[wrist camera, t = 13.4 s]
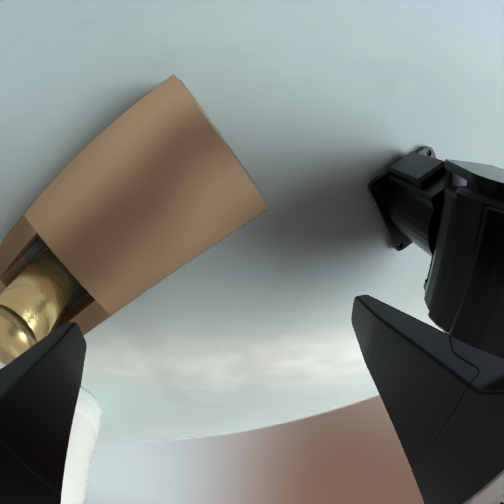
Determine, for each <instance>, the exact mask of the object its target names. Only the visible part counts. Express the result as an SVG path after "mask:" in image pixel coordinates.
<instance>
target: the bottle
mask: <svg viewBox="0 0 504 504" xmlns="http://www.w3.org/2000/svg"><path fill="white" fill-rule="evenodd" d="M102 415H103V412H102V407H101V405H100V404H99V402H98V400H97V399H96V398H95V397H93V396H92V395H91V394H90V393H89V392H88V391H86V390H85V389H83V388H82V387H80V391H79V395H78V400H77V404H76V408H75V413H74V418H73V423H72V428H71V433H70V439H69V444H68V450H67V456H66V463H65V470H64V477H63V485H62V494H61V504H83V503H84V497H85V492H86V485H87V481H88V475H89V471H90V466H91V461H92V457H93V452H94V448H95V443H96V439H97V435H98V434H99V431H100V427H101V419H102Z"/></svg>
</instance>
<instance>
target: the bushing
mask: <svg viewBox="0 0 504 504" xmlns="http://www.w3.org/2000/svg"><path fill="white" fill-rule="evenodd" d="M79 285H80V283H79V282H78V281H77V279H76V278H75V277H74V276H73V275H72V274H71V273H70V272H69V270H68V269H67V268H66V267H65V266H64V265H63V264H62V262H61V261H60V260H59V259H58V258H57V256H56V255H55V254H54V253H53V252H52V250H51V249H50V248H49V247H48V246H47V247H46V248H45V249H44V250H43V251H42V252H41V253H40V254H39V255H38V256H37V257H36V258H35V259H34V260H33V261H32V262H31V263H30V264H29V265H28V266H27V267H26V268H25V269H24V270H23V271H22V272H21V273H20V274H19V275H18V276H17V277H16V278H15V279H14V280H13V281H12V282H11V283H10V284H9V285H8V287H7V288H6V289H5V290H4V291H3V292H2V293H1V294H0V361H1V362H2V363H3V364H5V365H7V364H9V363H10V362H11V361H13V360H14V359H15V358H17V357H18V356H19V355H21V354H22V353H24V352H25V351H26V350H28V349H29V348H30V347H32V346H33V345H34V344H36V343H37V342H39V341H40V340H41V339H43V338H44V337H46V336H47V335H48V333H49V332H50V330H51V328H52V327H53V325H54V323H55V322H56V320H57V319H58V317H59V315H60V314H61V312H62V311H63V309H64V307H65V306H66V304H67V303H68V301H69V300H70V298H71V297H72V295H73V294H74V292H75V291H76V289H77V288H78V286H79Z"/></svg>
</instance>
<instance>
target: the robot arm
mask: <svg viewBox="0 0 504 504" xmlns="http://www.w3.org/2000/svg"><path fill="white" fill-rule="evenodd" d="M427 151H428V152H429V153H428V155H427ZM375 185H377V188H376V189H375V190H373V187H374V186H375ZM368 190H369V192H370V194H371V197H372V199H373V201H374V203H375V205H376V207H377V210H378V212H379V214H380V216H381V219H382V221H383V223H384V225H385V228H386V230H387V232H388V235H389V237H390V239H391V242H392V244H393V247H394V248H395V249H396V250H398V251H401V250H403V249H404V248H405V247H407V246H408V245H410V244H411V243H412V242H414V243H415V244H416V245H418V246H419V247H420V248H421V249H423V250H424V251H425V252H426V253H428V254H429V255H430V256H431V257H432V260H431V264H430V269H429V273H428V277H427V279H426V280H425V283H424V289H425V298H424V300H425V302H426V305H427V307H428V309H429V314H428V316H429V318H430V319H431V320H432V321H433V322H434V323H435V324H436V325H437V326H438V327H439V328H440V329H442V330H443V331H444V332H445V333H444V332H442V331H440V330H438V329H436V328H434V327H432V326H430V325H428V324H426V323H424V322H422V321H420V320H418V319H416V318H414V317H412V316H410V315H408V314H406V313H404V312H402V311H400V310H398V309H396V308H394V307H392V306H389V305H387V304H385V303H383V302H381V301H379V300H377V299H375V298H373V297H371V296H369V295H361V296H356V297H355V299H354V303H353V311H352V325H353V328H354V331H355V334H356V337H357V340H358V343H359V346H360V349H361V352H362V355H363V358H364V360H365V363H366V365H367V368H368V370H369V372H370V374H371V376H372V378H373V381H374V383H375V385H376V387H377V389H378V392H379V394H380V396H381V398H382V400H383V403H384V405H385V407H386V410H387V412H388V414H389V416H390V419H391V421H392V423H393V425H394V428H395V430H396V433H397V435H398V437H399V440H400V442H401V445H402V447H403V449H404V452H405V454H406V457H407V459H408V461H409V464H410V466H411V469H412V472H413V475H414V477H415V479H416V482H417V485H418V487H419V490H420V492H421V495H422V498H423V501H424V503H425V504H504V169H501V168H498V167H495V166H491V165H485V164H479V163H472V162H464V161H456V160H448V159H445V162H444V161H442V160H439V159H436V156H435V153H434V151H433V149H432V148H431V147H428V146H425V147H423V148H421V149H420V150H418V151H417V152H411V153H409V154H408V155H406V156H405V157H403V158H402V159H400V160H399V161H397V162H395V163H394V164H392V165H391V166H389V168H388V171H386V172H385V173H383V174H381V175H380V176H378V177H377V178H375V179H374V180H372V181H371V182H370V183H369V185H368ZM400 242H401V243H400ZM399 243H400V245H399V246H398V244H399ZM85 353H86V341H85V339H84V337H83V334H82V332H81V330H80V327H79V325H78V324H77V323H76V322H66V323H64V324H63V325H61V326H60V327H58V328H57V329H55V330H54V331H53V332H51V333H50V334H48V335H47V336H46V337H44V338H43V339H41V340H40V341H39V342H37V343H36V344H34V345H33V346H32V347H30V348H29V349H28V350H26V351H25V352H24V353H22V354H21V355H19V356H18V357H17V358H15V359H14V360H13V361H11V362H10V363H9V364H7V365H6V366H5V367H3V368H2V369H1V370H0V504H61V494H62V485H63V477H64V470H65V463H66V456H67V450H68V444H69V439H70V433H71V428H72V423H73V418H74V413H75V408H76V404H77V400H78V395H79V391H80V386H81V380H82V373H83V366H84V360H85Z"/></svg>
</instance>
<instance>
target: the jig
mask: <svg viewBox="0 0 504 504" xmlns="http://www.w3.org/2000/svg"><path fill="white" fill-rule="evenodd" d="M267 209H269V207H268V205H267V204H266V202H265V200H264V198H263V196H262V194H261V193H260V191H259V189H258V188H257V186H256V185H255V183H254V182H253V181H252V179H251V178H250V176H249V175H248V173H247V172H246V170H245V169H244V167H243V166H242V165H241V163H240V162H239V160H238V159H237V157H236V156H235V155H234V153H233V152H232V150H231V149H230V147H229V146H228V145H227V143H226V142H225V140H224V139H223V137H222V136H221V135H220V133H219V132H218V130H217V129H216V128H215V126H214V125H213V123H212V122H211V121H210V119H209V118H208V117H207V115H206V114H205V112H204V111H203V110H202V108H201V107H200V106H199V104H198V103H197V101H196V100H195V99H194V97H193V96H192V95H191V93H190V92H189V91H188V89H187V88H186V86H185V85H184V84H183V82H181V81H180V80H179V79H178V78H177V77H176V76H175V75H172V76H171V77H170V78H168V79H167V80H165V81H164V82H163V83H161V84H160V85H159V86H157V87H156V88H155V89H153V90H152V91H151V92H149V93H148V94H147V95H145V96H144V97H143V98H141V99H140V100H139V101H138V102H136V103H135V104H134V105H133V106H131V107H130V108H129V109H128V110H127V111H125V112H124V113H123V114H122V115H121V116H119V117H118V118H117V119H116V120H115V121H114V122H112V123H111V124H110V125H109V126H108V127H107V128H106V129H104V130H103V131H102V132H101V133H100V134H99V135H98V136H97V137H96V138H95V139H93V140H92V141H91V142H90V143H89V144H88V145H87V146H86V147H85V148H84V149H83V150H82V151H81V152H80V153H79V154H78V155H77V156H76V157H75V158H74V159H73V160H72V161H71V162H70V163H69V164H68V165H67V166H66V167H65V168H64V169H63V170H62V171H61V172H60V173H59V174H58V175H57V176H56V178H55V179H54V180H53V181H52V182H51V183H50V184H49V185H48V186H47V187H46V189H45V190H44V191H43V192H42V193H41V194H40V195H39V197H38V198H37V199H36V200H35V201H34V202H33V204H32V205H31V206H30V207H29V208H28V210H27V211H26V212H25V213H24V215H23V216H22V217H21V218H20V220H19V221H18V222H17V223H16V225H15V226H14V227H13V229H12V230H11V231H10V233H9V234H8V235H7V237H6V238H5V239H4V241H3V242H2V244H1V245H0V294H1V293H2V292H3V291H4V290H5V289H6V288H7V287H8V285H9V284H10V283H11V282H12V281H13V280H14V279H15V278H16V277H17V276H18V275H19V274H20V273H21V272H22V271H23V270H24V269H25V268H26V267H27V266H28V265H29V264H30V263H29V262H28V260H27V259H26V258H25V257H24V254H25V253H26V252H27V251H28V250H29V248H30V247H31V246H32V245H33V244H34V243H35V241H36V240H37V239H38V238H39V237H41V238H42V239H43V241H44V242H45V243H46V244H47V246H48V247H49V248H50V249H51V250H52V252H53V253H54V254H55V255H56V256H57V258H58V259H59V260H60V261H61V262H62V264H63V265H64V266H65V267H66V268H67V269H68V270H69V272H70V273H71V274H72V275H73V276H74V277H75V278H76V279H77V281H78V282H79V283H80V284H81V285H82V286H83V287H84V288H85V289H86V290H87V292H86V293H85V294H84V295H82V296H81V297H80V298H79V299H78V300H76V301H75V302H74V303H73V304H72V305H70V306H69V307H68V306H67V305H66V306H65V307H64V309H63V311H62V312H61V314H60V315H59V317H58V319H57V320H56V322H55V323H54V325H53V327H52V328H51V330H50V332H49V333H48V334H50V333H51V332H53V331H54V330H55V329H57V328H58V327H60V326H61V325H63V324H64V323H66V322H76V323H77V324H78V325H79V327H80V330H81V332H82V334H83V335H85V334H86V333H87V332H89V331H90V330H92V329H93V328H94V327H96V326H97V325H99V324H100V323H101V322H103V321H104V320H106V319H107V318H108V317H110V316H111V315H113V314H114V313H115V312H117V311H118V310H120V309H121V308H122V307H124V306H125V305H127V304H128V303H130V302H131V301H132V300H134V299H135V298H137V297H138V296H140V295H141V294H142V293H144V292H145V291H147V290H148V289H150V288H151V287H153V286H154V285H155V284H157V283H158V282H160V281H161V280H163V279H164V278H166V277H167V276H168V275H170V274H171V273H173V272H174V271H176V270H177V269H179V268H180V267H182V266H183V265H185V264H186V263H187V262H189V261H190V260H192V259H193V258H195V257H196V256H198V255H199V254H201V253H202V252H204V251H205V250H207V249H208V248H210V247H211V246H213V245H214V244H216V243H217V242H219V241H220V240H222V239H223V238H225V237H226V236H228V235H229V234H231V233H232V232H234V231H235V230H237V229H238V228H240V227H241V226H243V225H244V224H246V223H247V222H249V221H250V220H252V219H253V218H255V217H256V216H258V215H259V214H261V213H263V212H264V211H266V210H267Z"/></svg>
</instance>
